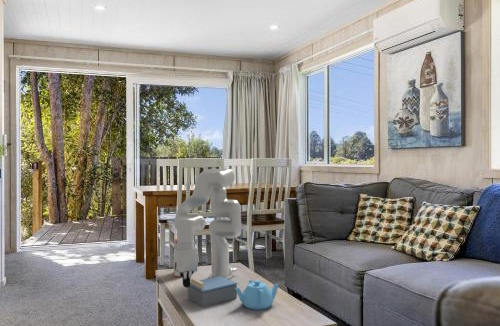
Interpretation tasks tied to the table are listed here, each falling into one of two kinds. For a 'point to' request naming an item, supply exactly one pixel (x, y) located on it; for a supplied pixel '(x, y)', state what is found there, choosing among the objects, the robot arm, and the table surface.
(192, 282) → the lid
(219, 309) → the table surface
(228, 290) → the base
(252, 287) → the teapot
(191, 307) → the table surface
